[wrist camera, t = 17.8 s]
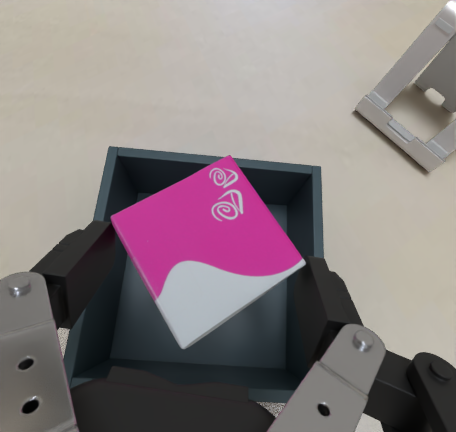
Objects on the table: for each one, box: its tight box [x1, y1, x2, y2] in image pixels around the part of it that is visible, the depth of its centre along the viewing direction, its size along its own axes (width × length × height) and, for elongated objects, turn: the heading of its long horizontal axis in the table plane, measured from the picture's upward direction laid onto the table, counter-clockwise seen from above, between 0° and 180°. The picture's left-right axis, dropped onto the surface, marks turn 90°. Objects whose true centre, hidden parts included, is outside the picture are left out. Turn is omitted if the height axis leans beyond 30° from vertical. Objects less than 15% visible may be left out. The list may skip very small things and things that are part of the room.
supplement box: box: [111, 155, 306, 349], centre depth 17 cm, size 6×6×12 cm
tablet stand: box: [355, 0, 456, 172], centre depth 24 cm, size 9×8×8 cm
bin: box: [63, 146, 324, 403], centre depth 20 cm, size 13×13×6 cm
